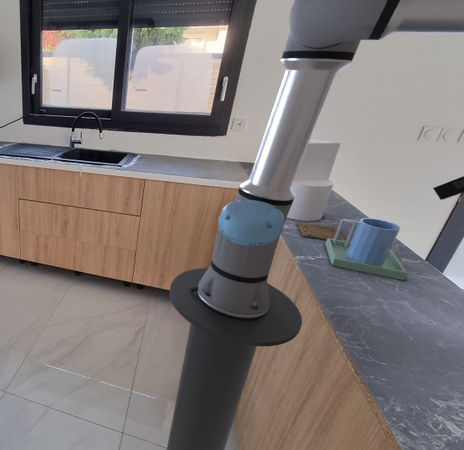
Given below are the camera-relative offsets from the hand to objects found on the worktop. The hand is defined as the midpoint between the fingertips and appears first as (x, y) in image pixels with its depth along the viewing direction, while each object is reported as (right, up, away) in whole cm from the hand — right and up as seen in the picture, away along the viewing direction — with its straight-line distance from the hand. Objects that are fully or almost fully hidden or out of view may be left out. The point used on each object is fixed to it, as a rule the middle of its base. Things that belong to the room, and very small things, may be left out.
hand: (462, 191), depth 64 cm
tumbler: (+5, -18, +26) cm, 32 cm away
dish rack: (+6, -18, +28) cm, 33 cm away
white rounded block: (+12, -2, +63) cm, 64 cm away
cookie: (+8, -10, +45) cm, 47 cm away
